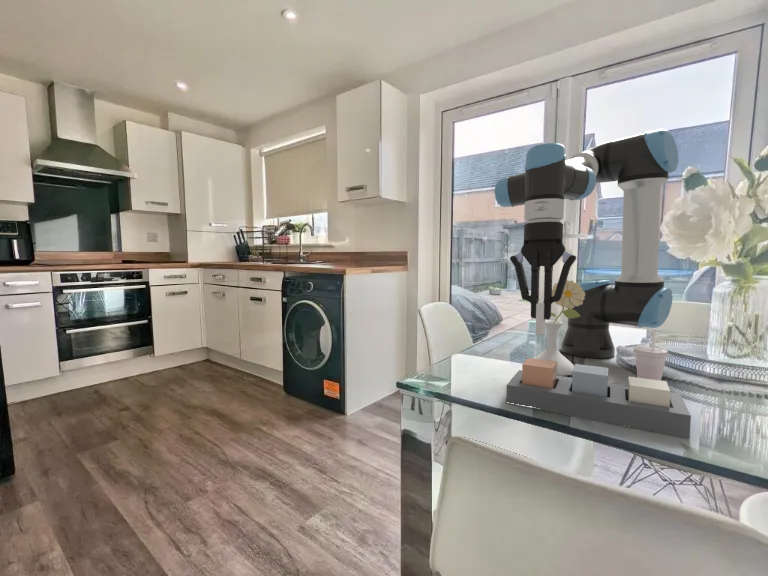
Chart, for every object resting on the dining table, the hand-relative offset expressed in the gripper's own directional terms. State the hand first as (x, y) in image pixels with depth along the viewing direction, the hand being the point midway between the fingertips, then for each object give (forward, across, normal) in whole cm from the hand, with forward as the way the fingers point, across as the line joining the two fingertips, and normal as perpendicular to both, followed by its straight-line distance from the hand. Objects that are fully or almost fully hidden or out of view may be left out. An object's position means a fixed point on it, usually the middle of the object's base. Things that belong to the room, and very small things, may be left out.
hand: (540, 333), depth 78 cm
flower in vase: (+15, +1, +21) cm, 26 cm away
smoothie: (+14, +21, +18) cm, 31 cm away
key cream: (+13, +19, 0) cm, 23 cm away
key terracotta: (+11, 0, 0) cm, 11 cm away
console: (+14, +10, 0) cm, 17 cm away
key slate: (+11, +10, 0) cm, 15 cm away
